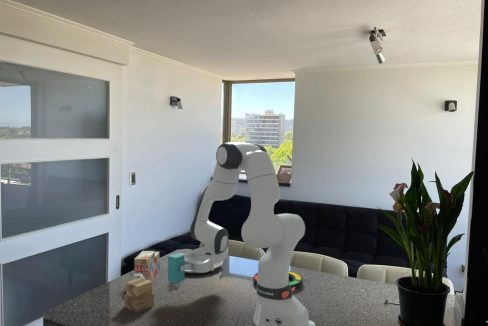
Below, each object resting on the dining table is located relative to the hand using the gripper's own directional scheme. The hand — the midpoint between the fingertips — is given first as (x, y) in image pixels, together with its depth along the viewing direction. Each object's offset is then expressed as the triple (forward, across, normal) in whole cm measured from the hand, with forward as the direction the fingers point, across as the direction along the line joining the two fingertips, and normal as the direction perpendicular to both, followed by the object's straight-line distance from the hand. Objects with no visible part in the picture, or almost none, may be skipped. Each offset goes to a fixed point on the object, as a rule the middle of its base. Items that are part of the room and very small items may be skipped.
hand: (174, 267), depth 148 cm
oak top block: (+9, -11, +10) cm, 17 cm away
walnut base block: (+9, -11, +16) cm, 21 cm away
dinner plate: (-39, -26, +15) cm, 49 cm away
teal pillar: (-1, 0, +6) cm, 6 cm away
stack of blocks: (-14, -34, +15) cm, 40 cm away
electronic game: (-46, +19, +16) cm, 52 cm away
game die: (0, -24, +15) cm, 28 cm away
